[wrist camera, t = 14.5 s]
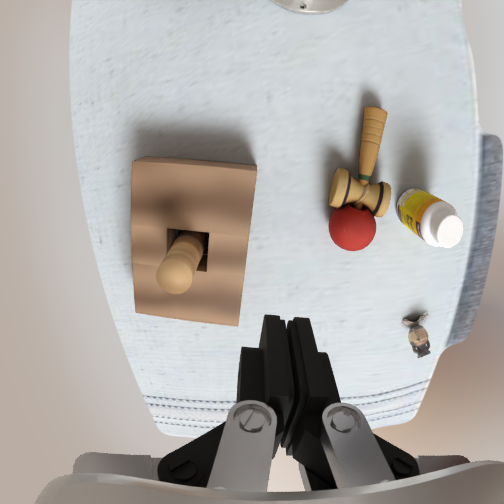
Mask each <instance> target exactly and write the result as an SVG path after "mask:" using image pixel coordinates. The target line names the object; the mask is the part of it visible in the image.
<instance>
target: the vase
mask: <svg viewBox="0 0 504 504" xmlns="http://www.w3.org/2000/svg"><path fill="white" fill-rule="evenodd" d="M426 316H428V313H427V314H426V315H424V316H422V315H421V316H420V318H419V316H418V318H419V319H418V321H416V322H410V321H408V319H406V318H405V319H404V320H403V322H402V323H404V324H405V325H408V327H410V328H411V329H410V330H409V335H408V338H409V342H410V344H411V345H412V348H413V351H414V353H416V354H418V358H420V357H423V356H425V355H428V354H430V351H429V350H428V349H429V348H430V343H429V341H428V333H427V331H426V329H425V328H424V327H423V326H421V325H419V320H420V319H421V318H424V317H425V319H426ZM425 319H424V320H425ZM405 320H407V321H405ZM421 320H422V319H421ZM426 344H427V346H426ZM415 347H416V348H417V349H416V348H415Z"/></svg>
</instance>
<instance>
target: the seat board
mask: <svg viewBox="0 0 504 504" xmlns="http://www.w3.org/2000/svg"><path fill="white" fill-rule="evenodd" d="M256 176H257V166H255V165H246V164H237V163H227V162H217V161H206V160H194V159H180V158H164V157H144V158H140V159H137V160H134V161H132V178H131V243H132V268H133V285H134V299H135V311H136V313H141V314H147V315H153V316H160V317H166V318H173V319H180V320H188V321H195V322H203V323H211V324H220V325H229V326H238V323H239V315H240V307H241V298H242V290H243V282H244V274H245V265H246V257H247V249H248V241H249V233H250V225H251V216H252V208H253V200H254V192H255V184H256ZM176 229H180V230H190V231H199V232H209V245H208V255H204V254H203V256H202V258H201V260H200V261H199V264H198V267H197V269H196V272H195V275H194V278H193V280H192V283H191V286H190V287H189V289H188V290H187V291H185V292H184V293H181V294H171V293H169V292H166V291H165V290H163V289H162V288H161V287H160V285H159V284H158V282H157V279H156V272H157V269H158V268H159V266H160V264H161V263H162V261H163V259H164V258H165V256H166V255H167V253H168V251H169V250H170V248H171V247H172V244H173V242H174V240H175V239H176Z"/></svg>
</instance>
